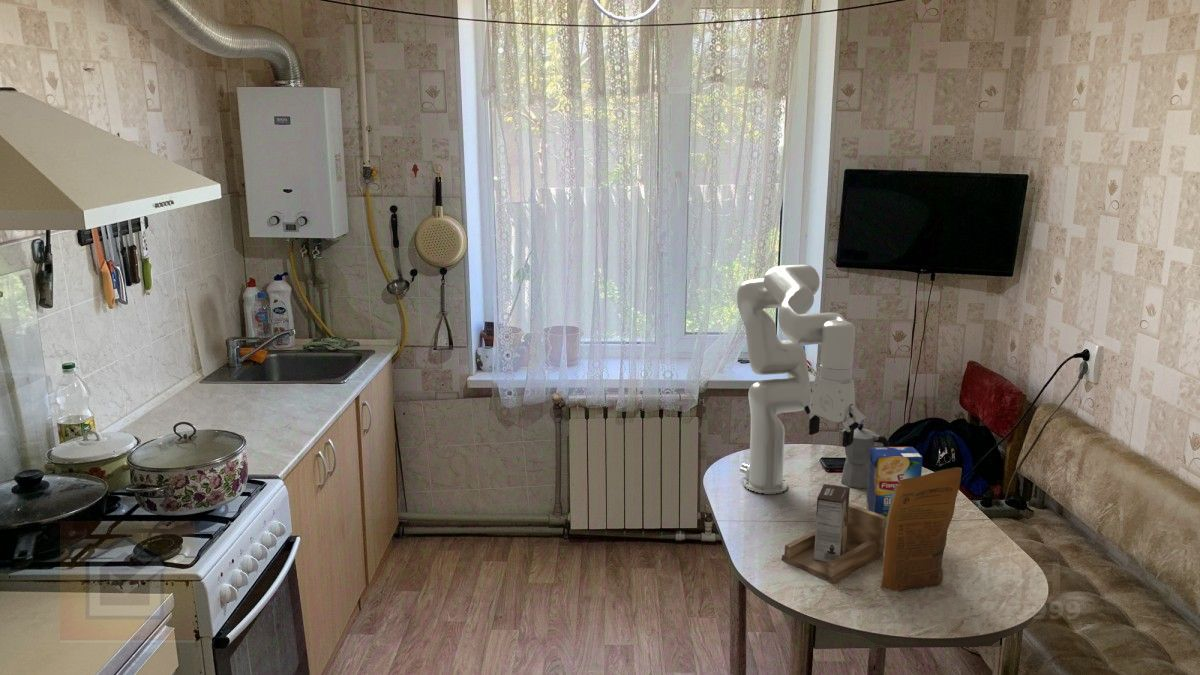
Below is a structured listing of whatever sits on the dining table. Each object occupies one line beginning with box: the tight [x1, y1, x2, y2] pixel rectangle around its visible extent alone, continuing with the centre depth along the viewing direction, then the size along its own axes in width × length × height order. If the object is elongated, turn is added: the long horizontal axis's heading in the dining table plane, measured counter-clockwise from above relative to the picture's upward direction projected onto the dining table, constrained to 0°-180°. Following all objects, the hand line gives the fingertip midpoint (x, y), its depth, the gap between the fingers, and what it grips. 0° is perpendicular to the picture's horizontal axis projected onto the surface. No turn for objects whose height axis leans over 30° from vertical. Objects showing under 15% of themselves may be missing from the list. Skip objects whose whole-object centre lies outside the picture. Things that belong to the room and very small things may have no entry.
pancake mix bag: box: [880, 466, 963, 592], centre depth 200 cm, size 7×19×28 cm, turn 106°
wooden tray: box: [781, 502, 886, 584], centre depth 215 cm, size 15×20×10 cm
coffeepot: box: [837, 423, 891, 489], centre depth 257 cm, size 15×9×18 cm, turn 51°
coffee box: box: [814, 483, 851, 562], centre depth 214 cm, size 9×6×16 cm
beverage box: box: [865, 446, 924, 540], centre depth 226 cm, size 7×11×22 cm, turn 91°
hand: (830, 439), depth 218 cm, fingers open, 9 cm apart
